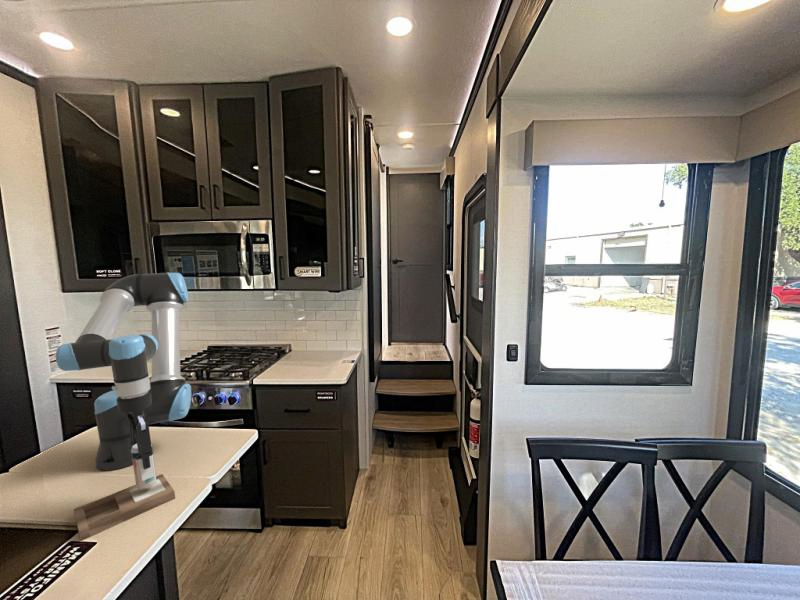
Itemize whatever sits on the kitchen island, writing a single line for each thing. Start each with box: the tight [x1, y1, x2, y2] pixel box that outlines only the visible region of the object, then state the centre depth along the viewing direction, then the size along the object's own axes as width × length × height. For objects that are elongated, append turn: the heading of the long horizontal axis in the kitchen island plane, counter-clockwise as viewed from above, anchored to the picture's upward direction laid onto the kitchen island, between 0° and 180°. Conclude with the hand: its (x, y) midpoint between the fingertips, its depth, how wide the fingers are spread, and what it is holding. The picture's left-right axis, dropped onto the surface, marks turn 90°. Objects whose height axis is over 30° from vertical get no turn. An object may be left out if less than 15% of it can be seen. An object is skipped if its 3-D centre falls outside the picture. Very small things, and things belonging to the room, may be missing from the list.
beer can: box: [131, 443, 157, 489], centre depth 101 cm, size 5×5×12 cm
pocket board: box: [73, 473, 176, 542], centre depth 99 cm, size 12×20×2 cm, turn 136°
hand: (145, 474), depth 102 cm, fingers closed on beer can, 5 cm apart
